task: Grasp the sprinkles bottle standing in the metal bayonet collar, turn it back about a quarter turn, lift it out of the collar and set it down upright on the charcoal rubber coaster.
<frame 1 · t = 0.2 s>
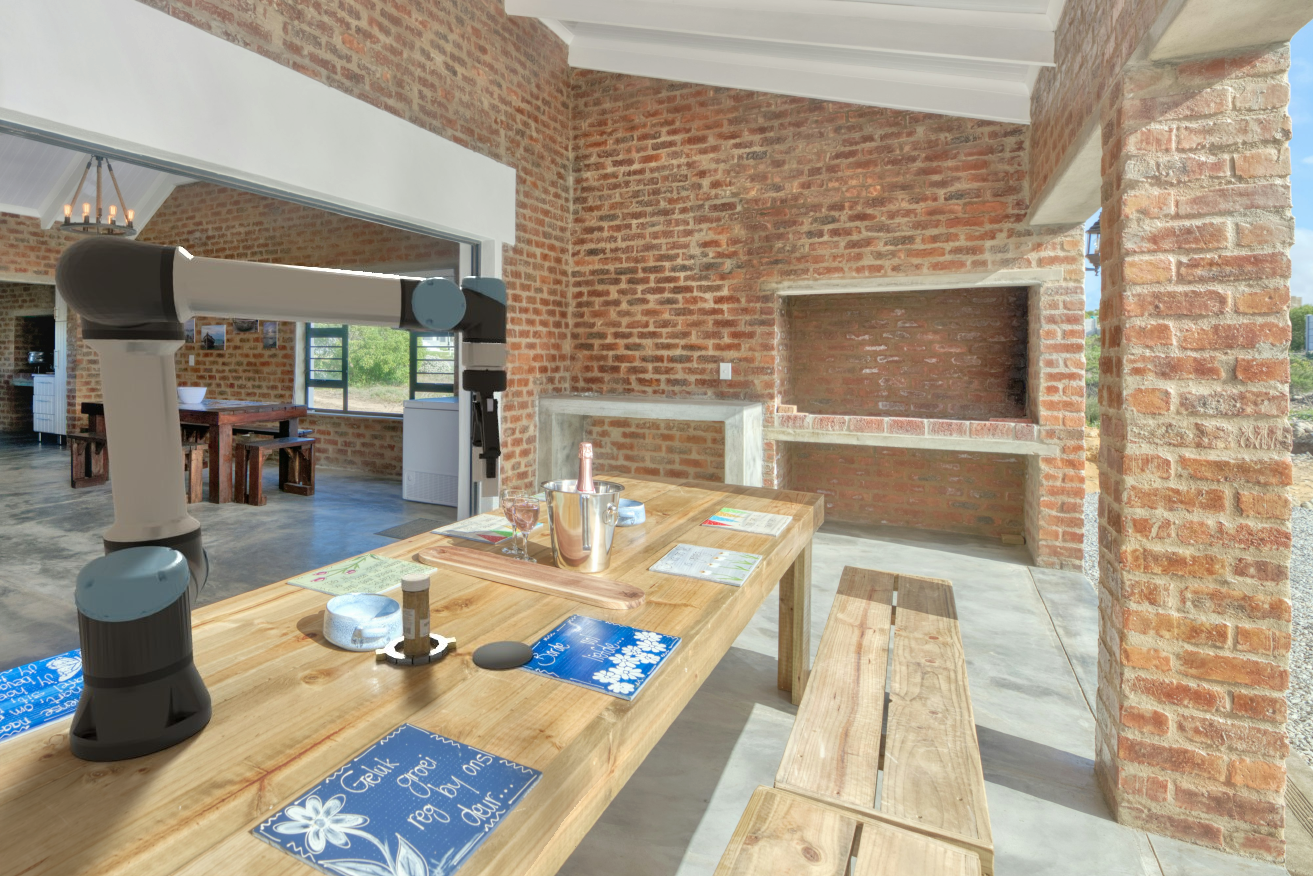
hand: (484, 488, 121), 27 cm above the table, fingers open, 13 cm apart
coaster: (502, 655, 116), on the table
sprinkles bottle: (416, 653, 116), resting in collar
collar: (416, 652, 116), on the table
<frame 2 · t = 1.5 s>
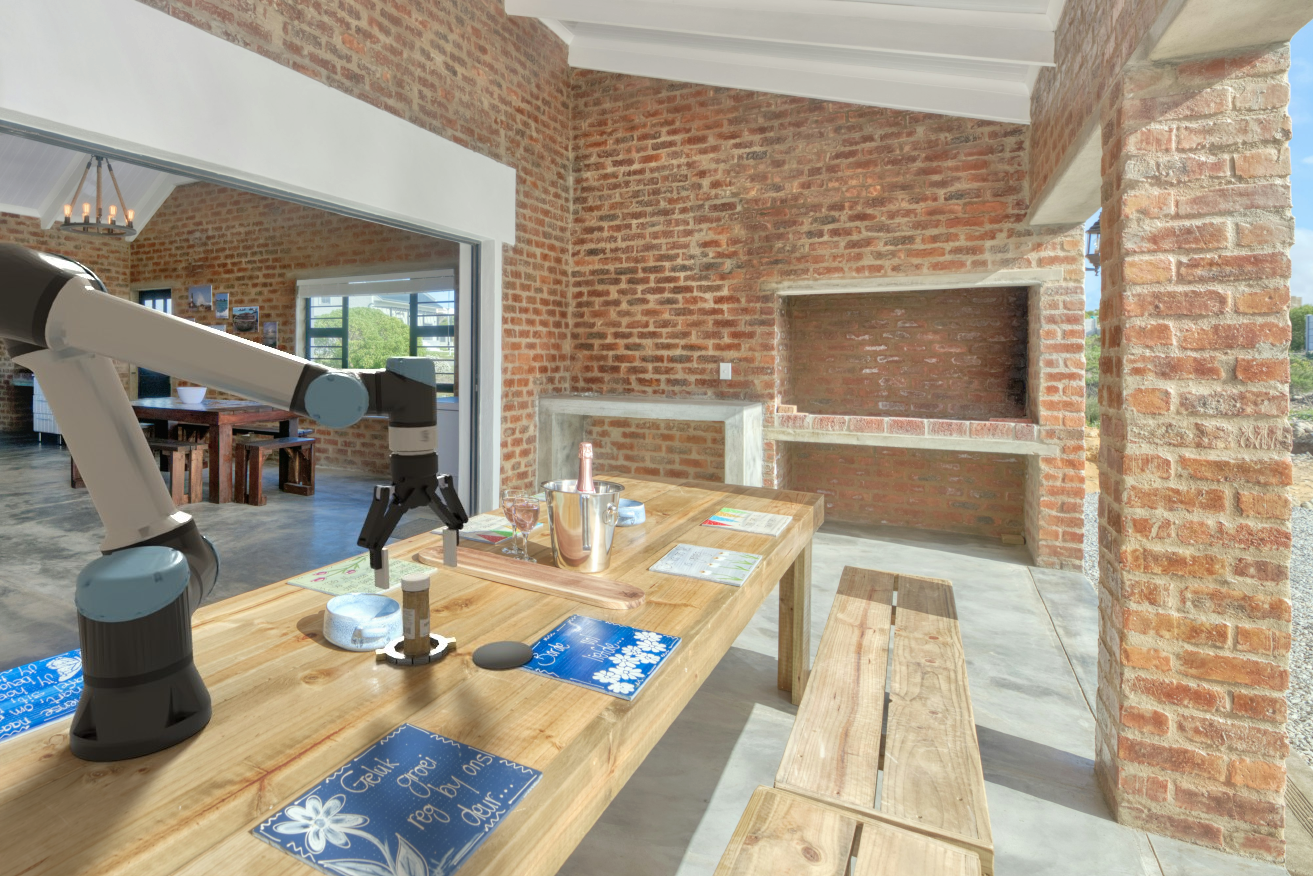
hand: (417, 576, 115), 13 cm above the table, fingers open, 13 cm apart
nothing on the table moved.
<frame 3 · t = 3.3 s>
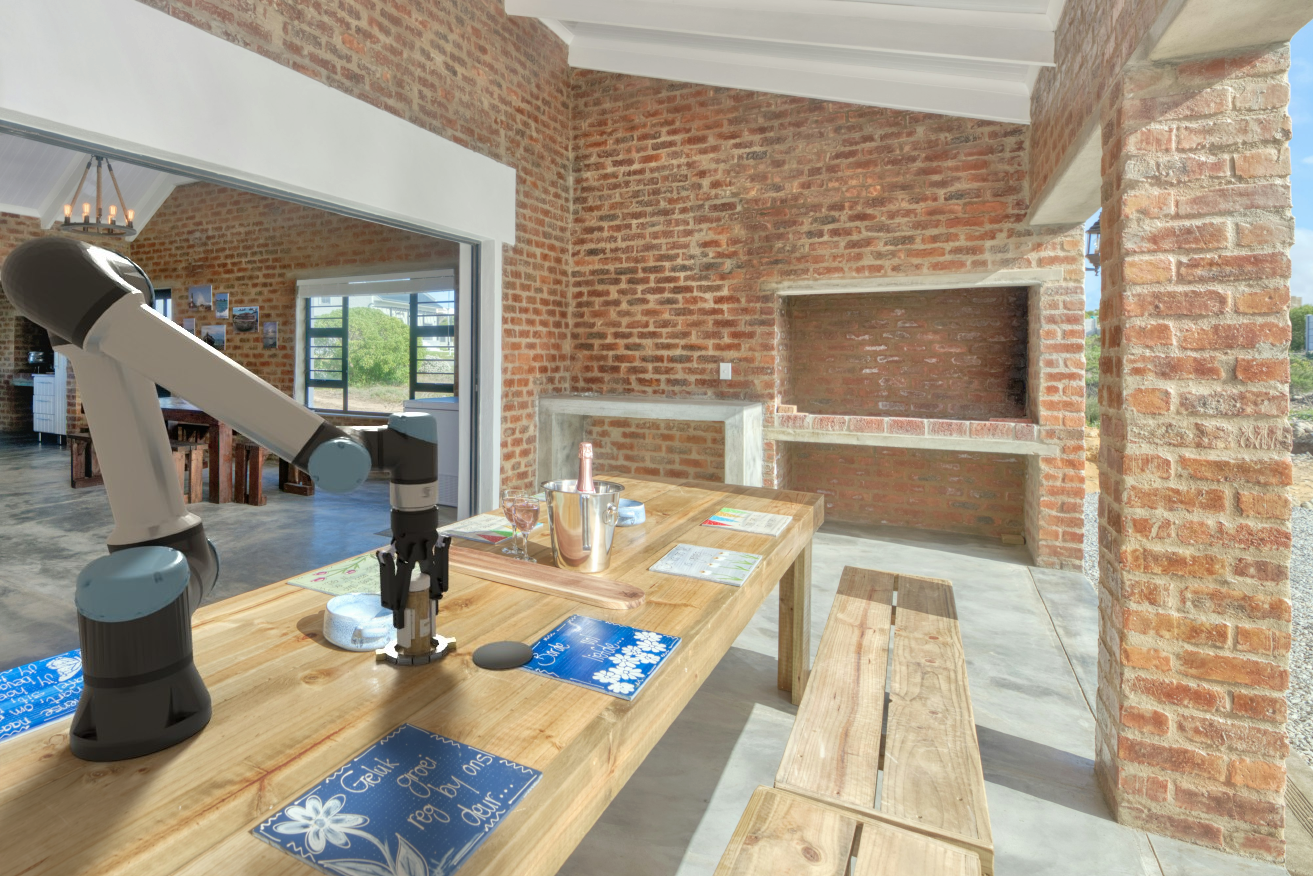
hand: (416, 639, 116), 2 cm above the table, fingers closed on sprinkles bottle, 4 cm apart
sprinkles bottle: (416, 653, 116), resting in collar, touching gripper
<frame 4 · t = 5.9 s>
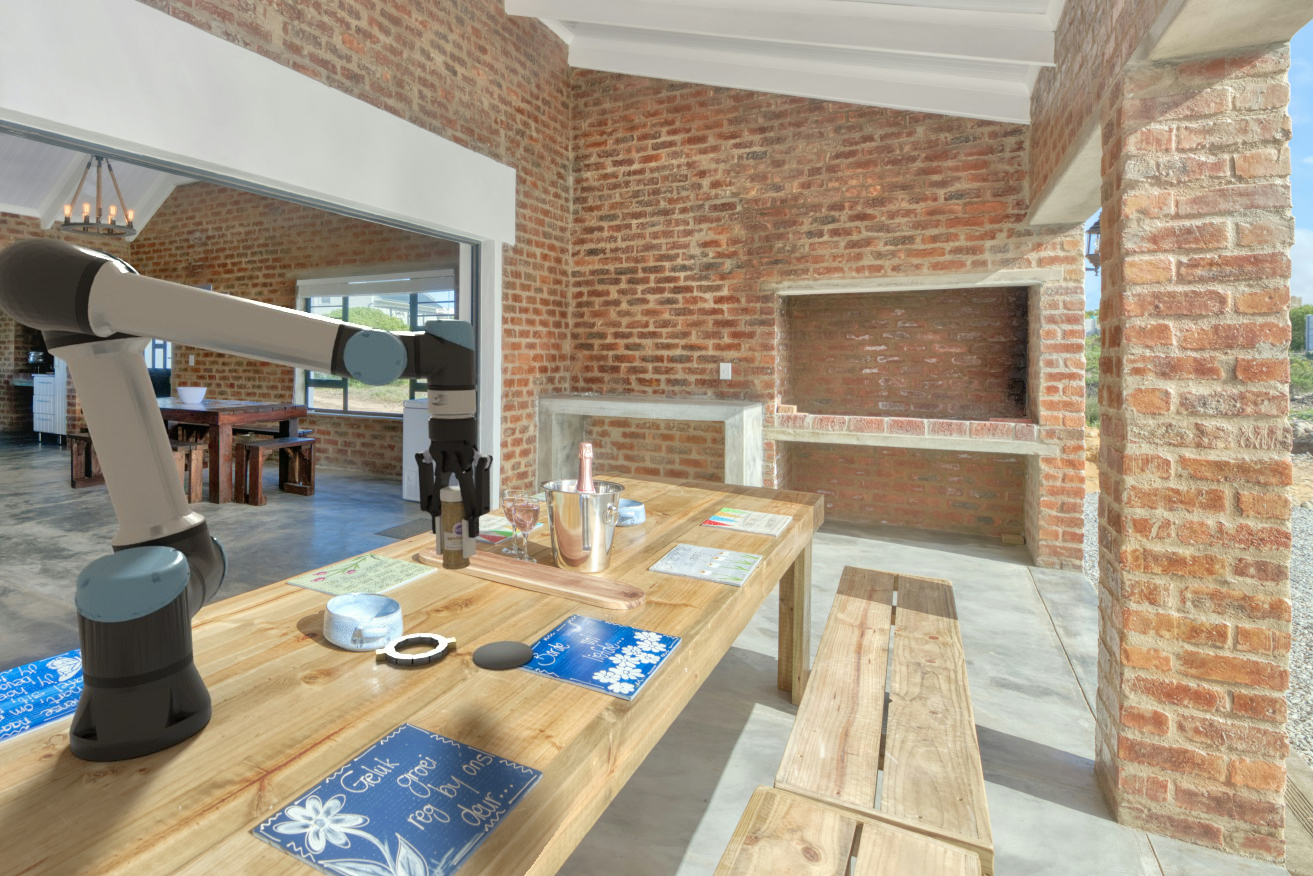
hand: (456, 554, 114), 17 cm above the table, fingers closed on sprinkles bottle, 4 cm apart
sprinkles bottle: (456, 567, 115), point 15 cm above the table, touching gripper
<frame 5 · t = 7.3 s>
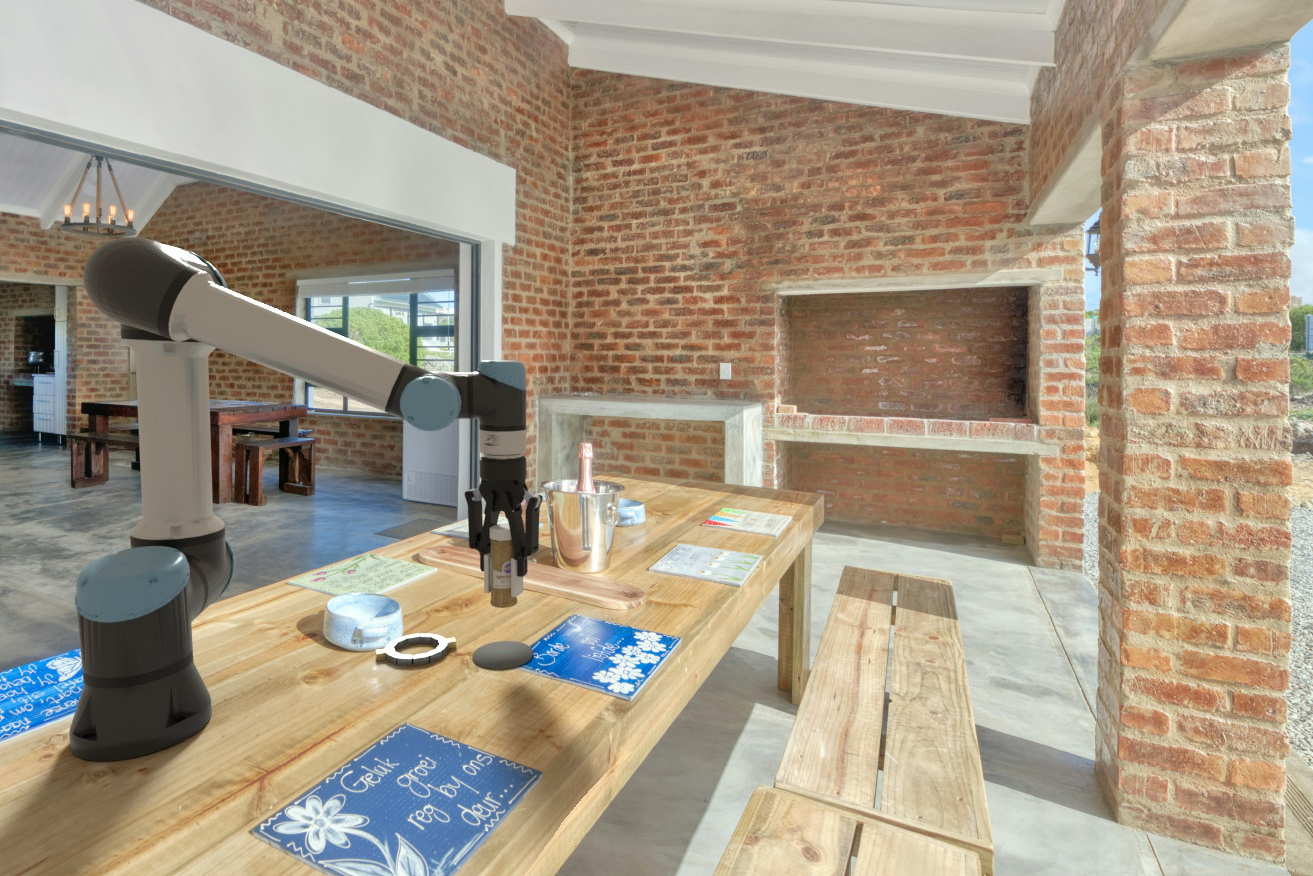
hand: (503, 591, 114), 11 cm above the table, fingers closed on sprinkles bottle, 4 cm apart
sprinkles bottle: (504, 605, 115), point 9 cm above the table, touching gripper
when the fingers open (4 cm above the table, at t = 8.6 s): sprinkles bottle drops 1 cm, resting on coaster.
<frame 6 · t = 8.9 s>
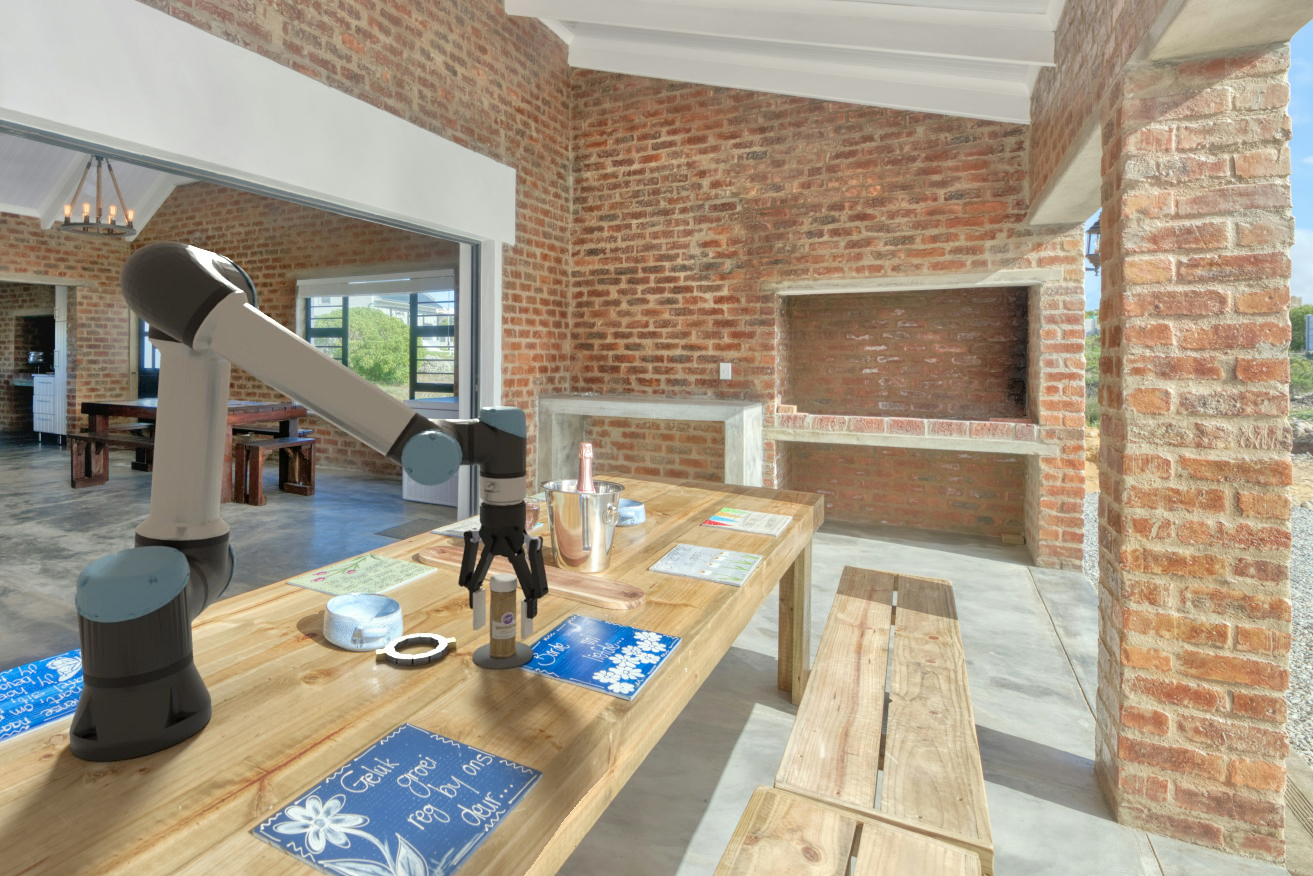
hand: (502, 631, 115), 4 cm above the table, fingers open, 8 cm apart
sprinkles bottle: (502, 654, 116), resting on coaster
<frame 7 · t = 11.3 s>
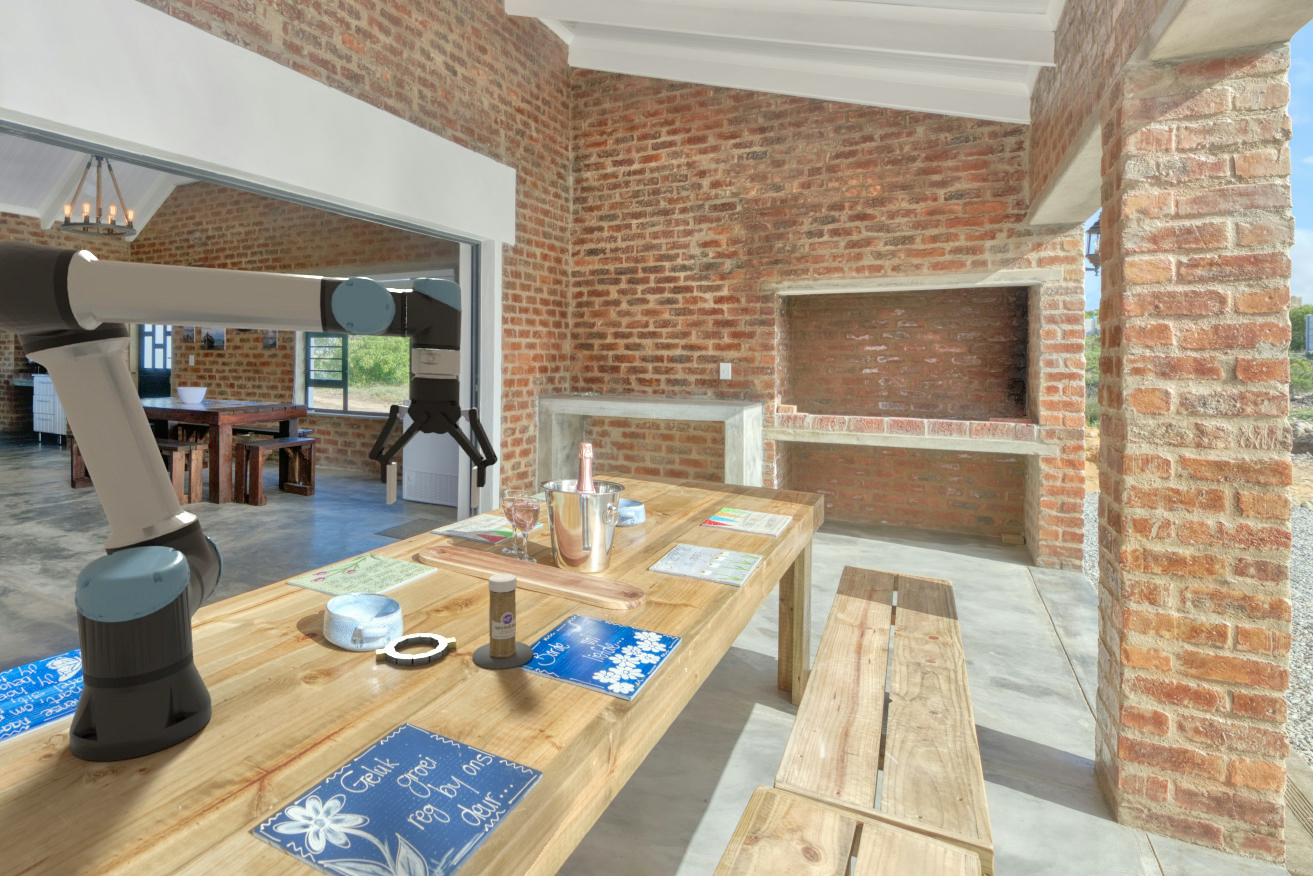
hand: (433, 504, 113), 26 cm above the table, fingers open, 13 cm apart
nothing on the table moved.
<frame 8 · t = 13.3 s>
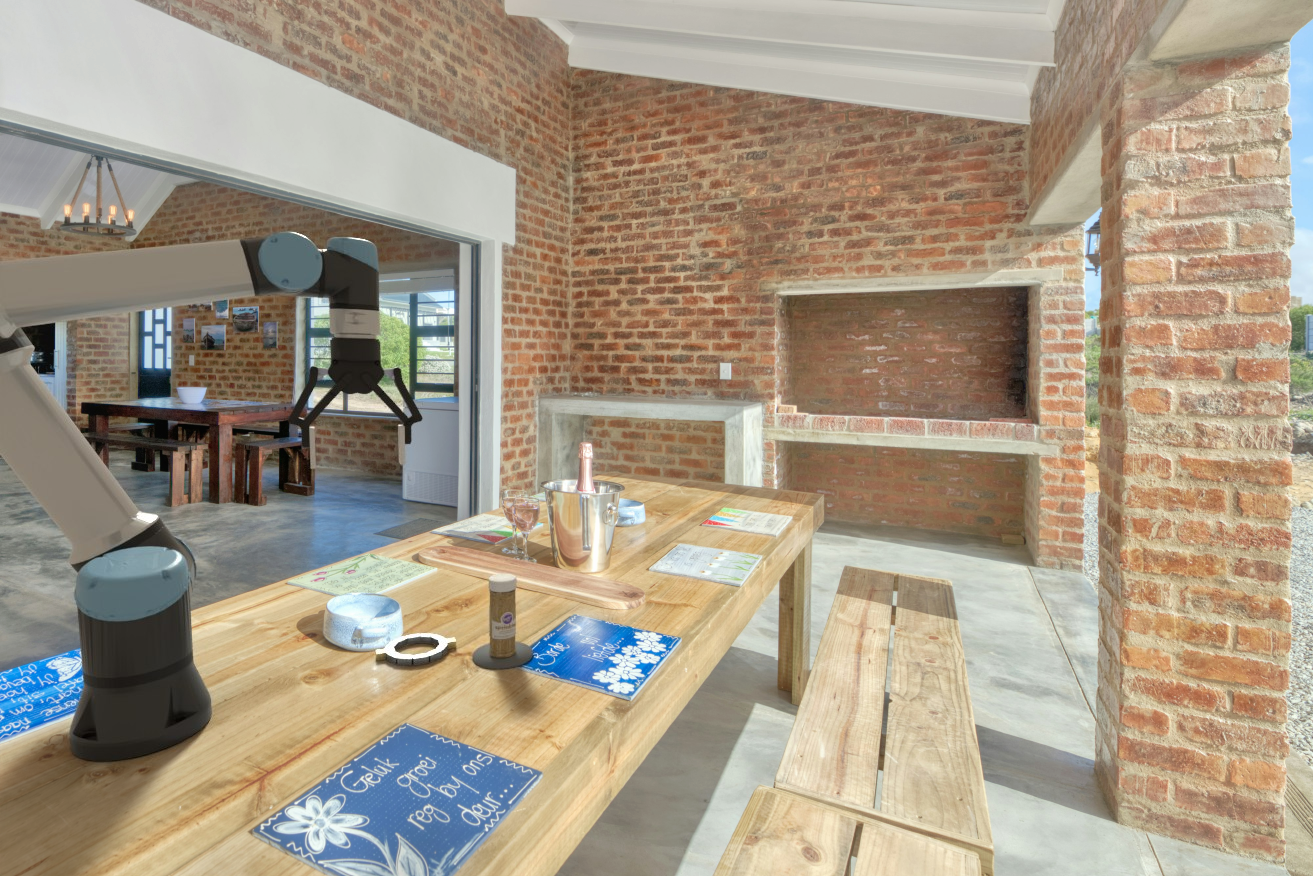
hand: (358, 465, 114), 32 cm above the table, fingers open, 13 cm apart
nothing on the table moved.
at the end: sprinkles bottle 0.0 cm from the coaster (horizontally); sprinkles bottle tilted 0°; sprinkles bottle resting on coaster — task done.
